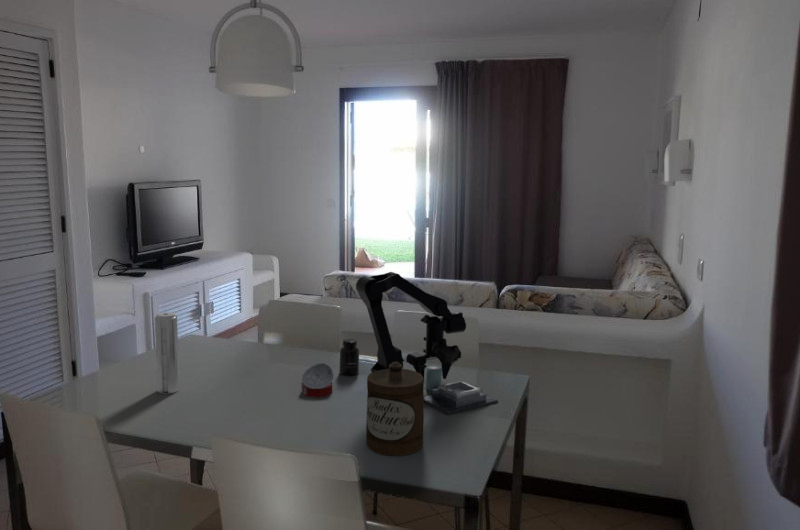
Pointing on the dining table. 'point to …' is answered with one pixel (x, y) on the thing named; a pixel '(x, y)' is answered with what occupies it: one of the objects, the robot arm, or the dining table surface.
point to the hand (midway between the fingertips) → (433, 381)
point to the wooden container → (395, 411)
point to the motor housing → (457, 397)
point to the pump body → (433, 377)
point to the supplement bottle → (349, 358)
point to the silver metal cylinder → (167, 353)
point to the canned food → (317, 381)
